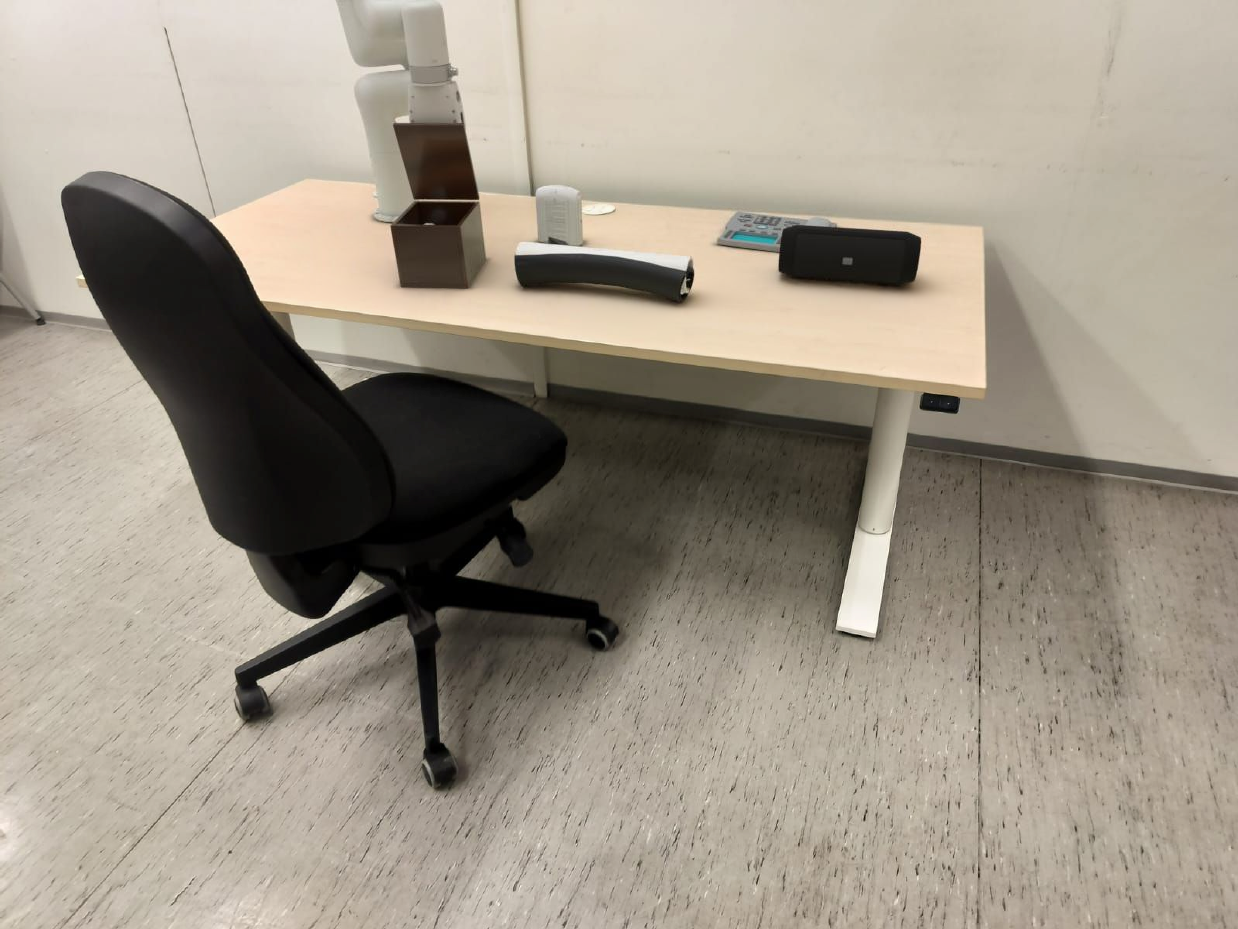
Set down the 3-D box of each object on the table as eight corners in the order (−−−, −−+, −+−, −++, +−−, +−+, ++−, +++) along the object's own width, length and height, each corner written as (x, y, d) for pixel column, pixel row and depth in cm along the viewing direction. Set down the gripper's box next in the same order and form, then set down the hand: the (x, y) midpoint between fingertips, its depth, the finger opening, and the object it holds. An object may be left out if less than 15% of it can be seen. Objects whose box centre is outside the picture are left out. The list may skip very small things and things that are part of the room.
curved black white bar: (691, 316, 161) (705, 254, 165) (685, 291, 152) (699, 226, 156) (520, 298, 170) (537, 240, 174) (505, 273, 161) (523, 212, 165)
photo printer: (586, 241, 187) (583, 184, 181) (579, 247, 184) (576, 190, 177) (542, 237, 190) (538, 181, 183) (535, 243, 187) (531, 186, 180)
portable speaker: (776, 284, 165) (780, 233, 159) (781, 265, 173) (785, 217, 167) (913, 294, 159) (923, 242, 154) (912, 275, 167) (921, 225, 162)
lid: (463, 124, 159) (464, 122, 159) (392, 124, 160) (393, 122, 161) (479, 200, 172) (479, 197, 172) (413, 199, 173) (414, 197, 174)
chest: (468, 288, 166) (460, 226, 159) (400, 287, 168) (390, 225, 161) (486, 259, 179) (479, 201, 172) (423, 258, 180) (414, 200, 174)
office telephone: (838, 216, 190) (820, 245, 175) (836, 228, 192) (819, 258, 176) (737, 205, 198) (712, 232, 182) (736, 216, 199) (711, 244, 184)
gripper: (474, 70, 162) (484, 169, 173) (398, 71, 164) (413, 168, 174) (464, 78, 156) (476, 179, 167) (385, 78, 158) (402, 179, 168)
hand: (443, 173), depth 170 cm, fingers closed
